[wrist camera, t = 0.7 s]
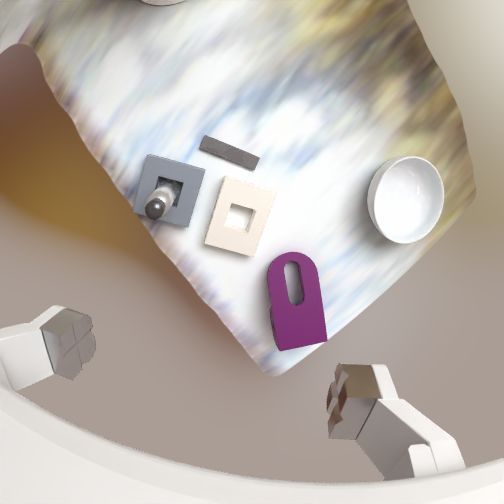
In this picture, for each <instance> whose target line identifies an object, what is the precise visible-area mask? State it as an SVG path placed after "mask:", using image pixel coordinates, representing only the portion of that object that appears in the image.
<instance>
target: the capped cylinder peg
mask: <svg viewBox="0 0 504 504" xmlns="http://www.w3.org/2000/svg"><path fill="white" fill-rule="evenodd" d="M178 193H179V185H178V184H177V182H175V181H174V180H170V179H169V180H165V181H164V182H163V183H162V184H161V185H160V186H159V187H158V188H157V189H156V190H155V191H154V192H153V193H152V194H151V195H150V196H149V197H148V198H147V200H146V202H145V206H144V207H145V213H146V215H147V217H148V218H150V219H153V220H156V219H161V218H163V217H165V216H166V215H167V213H168V211H169V209H170V208H171V206H172V204H173V202H174V200H175V198H176V196H177V195H178Z"/></svg>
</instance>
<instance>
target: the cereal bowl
mask: <svg viewBox="0 0 504 504" xmlns="http://www.w3.org/2000/svg"><path fill="white" fill-rule="evenodd" d="M367 197H368V198H367V204H368V211H369V215H370V218H371V220H372V222H373V224H374V225H375V227H376V228H377V230H378V231H379V232H380V233H381V234H382V235H383V236H385V237H386V238H387V239H389V240H391V241H393V242H395V243H400V244H408V243H413V242H416V241H418V240H420V239H421V238H423V237H424V236H426V235H427V234H428V233H429V232H430V231H431V230H432V229H433V227H434V226H435V224H436V223H437V221H438V219H439V217H440V214H441V212H442V208H443V202H444V188H443V183H442V180H441V177H440V175H439V173H438V171H437V170H436V168H435V167H434V166H433V165H432V164H431V163H430V162H428V161H427V160H425V159H423V158H421V157H417V156H399V157H395V158H393V159H391V160H389V161H387V162H386V163H384V164H383V165H382V166H381V167H380V168H379V169H378V170H377V172H376V173H375V175H374V177H373V179H372V181H371V183H370V186H369V190H368V196H367Z"/></svg>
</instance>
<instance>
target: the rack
mask: <svg viewBox="0 0 504 504" xmlns="http://www.w3.org/2000/svg"><path fill="white" fill-rule="evenodd" d="M276 194H277V193H276V192H274V191H273V190H270V189H267V188H264V187H261V186H257V185H254V184H251V183H248V182H245V181H242V180H239V179H235V178H232V177H229V176H226V175H225V177H224V180H223V183H222V186H221V189H220V192H219V195H218V198H217V201H216V204H215V208H214V211H213V214H212V217H211V220H210V223H209V227H208V230H207V233H206V236H205V244H208V245H211V246H215V247H219V248H222V249H226V250H230V251H233V252H237V253H241V254H244V255H248V256H252V257H254V254H255V251H256V249H257V246H258V243H259V240H260V238H261V235H262V232H263V230H264V227H265V224H266V221H267V219H268V216H269V213H270V210H271V208H272V205H273V202H274V200H275V197H276ZM232 203H234V204H237V205H240V206H244V207H247V208H250V209H254V210H253V213H252V215H251V218H250V221H249V224H248V227H247V230H246V229H243V228H239V227H236V226H232V225H229V224H226V223H225V222H226V219H227V216H228V213H229V210H230V207H231V204H232Z"/></svg>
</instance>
